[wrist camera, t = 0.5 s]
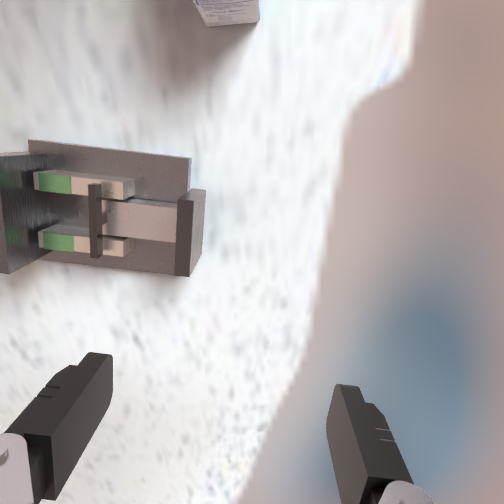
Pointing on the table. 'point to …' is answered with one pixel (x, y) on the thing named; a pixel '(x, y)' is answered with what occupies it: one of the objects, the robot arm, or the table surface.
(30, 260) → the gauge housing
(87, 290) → the table surface
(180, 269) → the plunger
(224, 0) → the medicine box
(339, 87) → the table surface
